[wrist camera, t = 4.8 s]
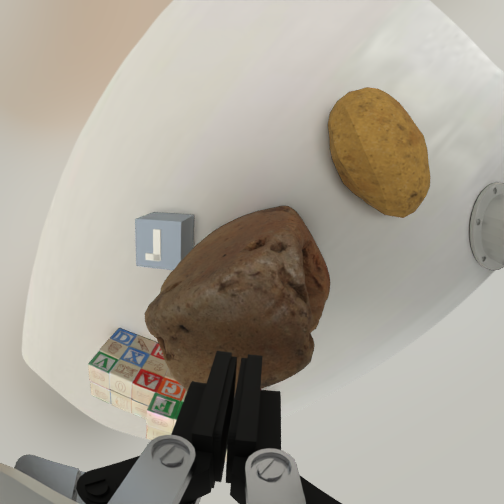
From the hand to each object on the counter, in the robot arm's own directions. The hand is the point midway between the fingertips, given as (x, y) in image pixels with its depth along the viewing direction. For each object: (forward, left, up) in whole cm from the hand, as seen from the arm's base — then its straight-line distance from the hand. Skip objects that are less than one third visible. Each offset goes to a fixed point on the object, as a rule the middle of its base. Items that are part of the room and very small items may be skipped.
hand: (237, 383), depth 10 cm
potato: (-11, -11, -23) cm, 28 cm away
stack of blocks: (+9, +19, -23) cm, 32 cm away
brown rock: (0, 0, -23) cm, 23 cm away
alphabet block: (+10, 0, -23) cm, 25 cm away
